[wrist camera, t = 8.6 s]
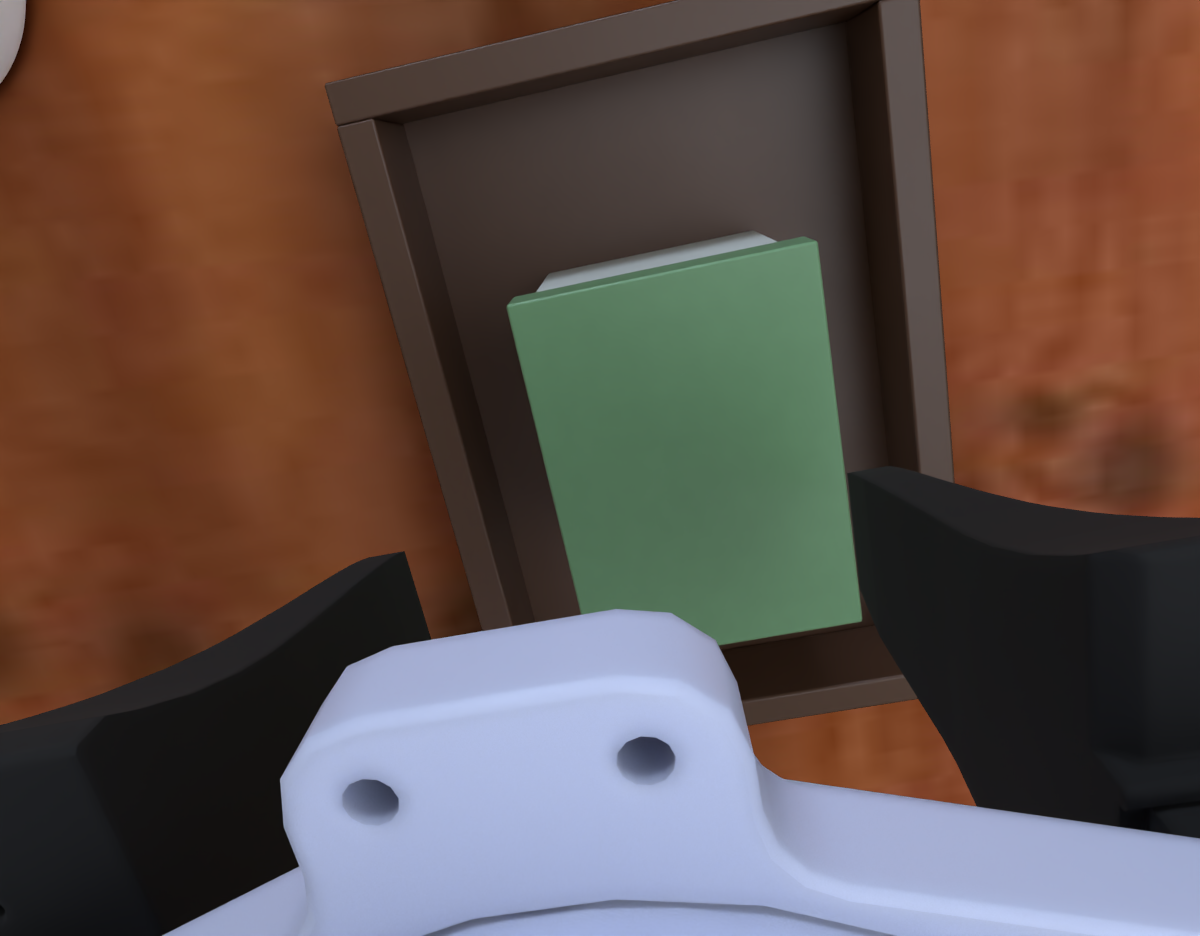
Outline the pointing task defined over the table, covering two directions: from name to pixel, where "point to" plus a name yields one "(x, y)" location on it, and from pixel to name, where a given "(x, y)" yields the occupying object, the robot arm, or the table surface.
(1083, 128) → the table surface
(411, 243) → the tray
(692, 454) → the container
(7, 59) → the can
